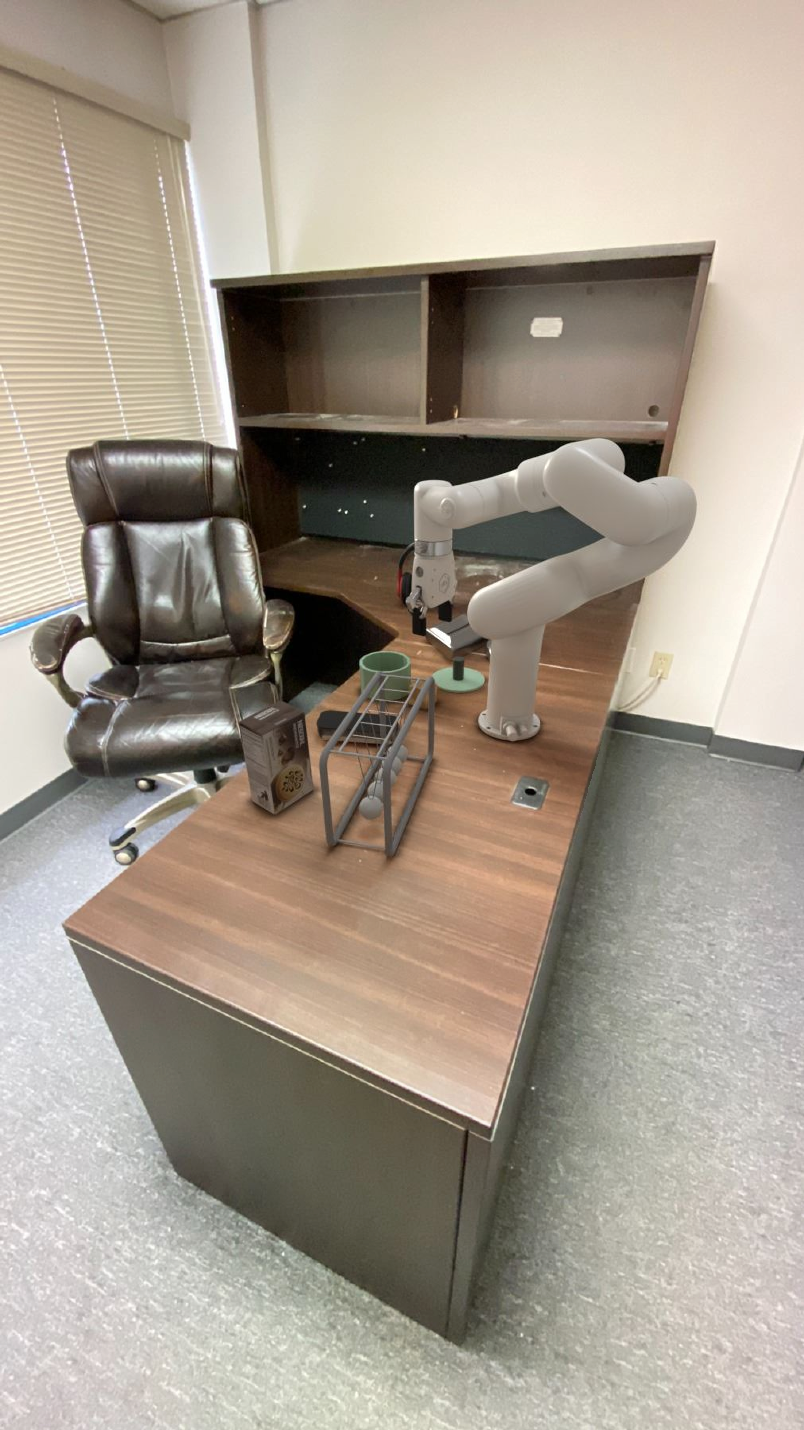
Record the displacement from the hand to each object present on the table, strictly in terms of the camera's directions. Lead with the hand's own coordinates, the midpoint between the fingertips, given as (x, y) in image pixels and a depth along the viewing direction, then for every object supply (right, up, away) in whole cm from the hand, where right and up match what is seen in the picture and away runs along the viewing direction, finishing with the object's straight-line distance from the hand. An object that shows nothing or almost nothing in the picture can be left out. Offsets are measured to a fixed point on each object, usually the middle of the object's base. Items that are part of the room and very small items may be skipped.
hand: (432, 627), depth 130 cm
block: (-2, -16, +4) cm, 17 cm away
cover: (+7, -11, +13) cm, 18 cm away
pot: (-10, -13, +10) cm, 19 cm away
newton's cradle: (-9, -33, -25) cm, 42 cm away
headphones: (+1, +15, +60) cm, 62 cm away
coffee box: (-27, -33, -24) cm, 49 cm away
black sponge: (-15, -23, -7) cm, 28 cm away
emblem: (+13, 0, +33) cm, 36 cm away
